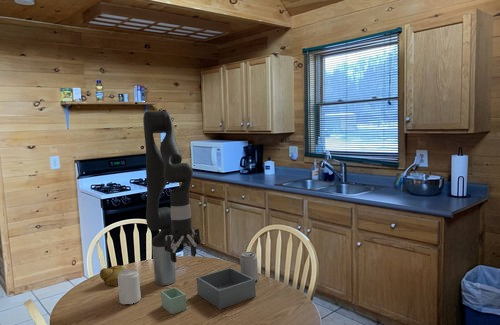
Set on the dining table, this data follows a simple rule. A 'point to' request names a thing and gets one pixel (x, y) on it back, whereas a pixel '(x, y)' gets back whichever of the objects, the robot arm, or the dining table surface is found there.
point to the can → (249, 264)
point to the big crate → (226, 287)
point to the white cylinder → (129, 286)
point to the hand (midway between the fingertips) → (183, 259)
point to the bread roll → (111, 274)
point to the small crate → (173, 300)
